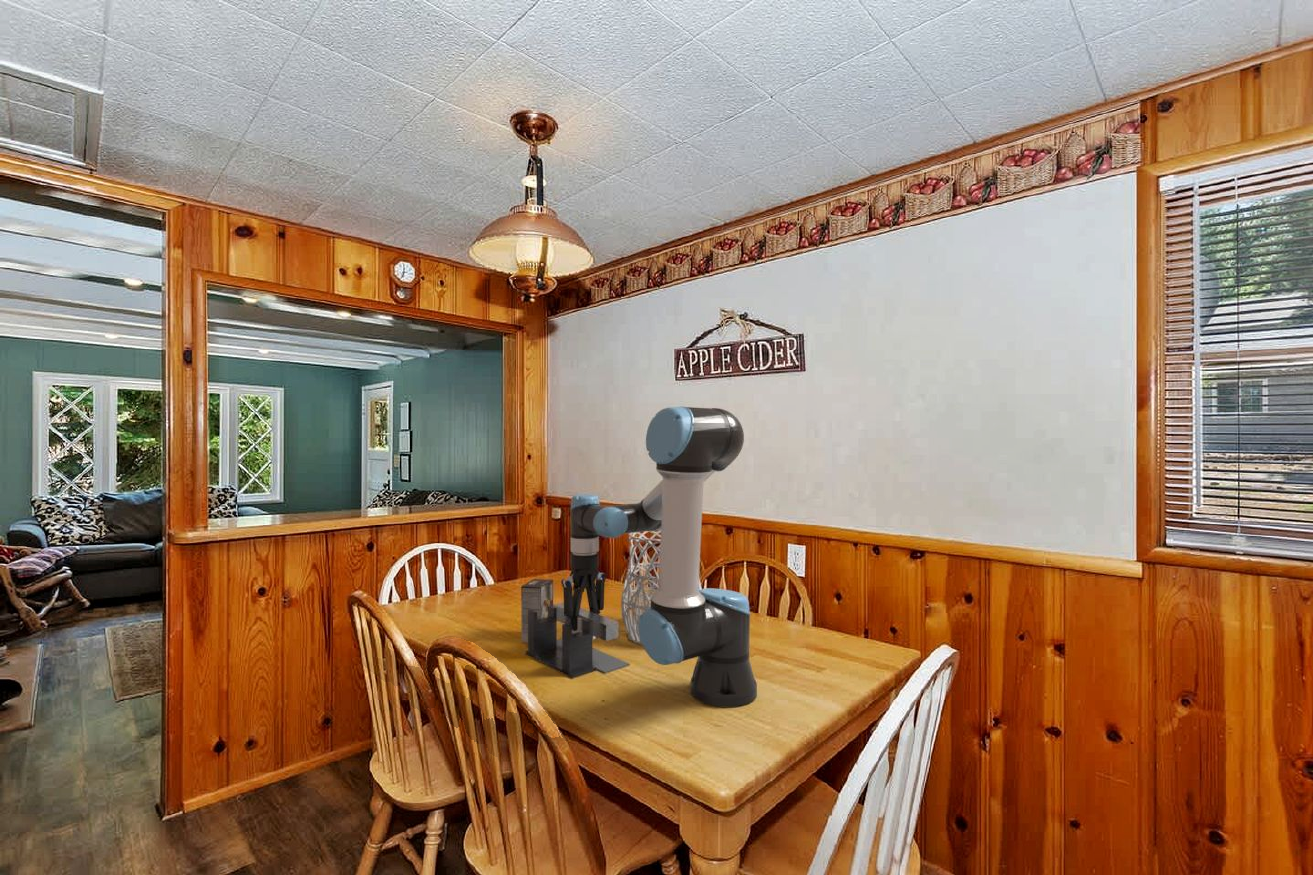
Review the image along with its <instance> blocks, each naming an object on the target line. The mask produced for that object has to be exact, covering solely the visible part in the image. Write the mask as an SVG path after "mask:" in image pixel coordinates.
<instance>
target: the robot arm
mask: <svg viewBox="0 0 1313 875" xmlns="http://www.w3.org/2000/svg"><path fill="white" fill-rule="evenodd" d="M645 434H646V436H645V447H646V448H645V449H646V451H647V452H648V456H649V458H650V459H651V460H652V461H653V462H655V463H656V472H657V473H658V474H659V475H660V477H662V479H661V481H660V482H659V483H658V484H657V485H655V487H654V488H653V489H652V490H650V492H648V494H647V495H646V496H645V497H644V498H643V499H642V500H640V502H637V503H627V504H616V505H615V504H614V505H601V504H600V499H599V498H600V497H598V495H597V494H587V493H586V494H575V495H573V496H572V497H571V499H570V508H569V511H570V513H569V514H570V515H569V516H570V552H571V554H570V557H569V558H570V560H569V561H570V569H571V572H570V574H569V577H567V578H566V579H561V580H560V583H561V586H562V589H563V602H564V615H565V616H567V617H570V618H571V626H572V634H574V633H577V632H581V618H579V612H580V608H581V604H582V601H583V600H582V599H583V593H584V592H585V591H586V596H587V602H588V609H589V611H590V612H593V613H596V614H598V615H601V611H603V610H604V609H605V607H604V606H605V587H606V586H605V584H606V579H607V576H608V575H607V574H606V573H605V572H601V571H599V569H598V567H599V557H600V555H599V553H598V552H599V551H600V539H599V538H600V537H599V536H601V537H604V538H606V539H609V538H610V539H616V538H619V537H622V535H625V534H627V535H628V534H630V533H633V534H634V533H635V532H639V533H644V532H645V531H654V532H656V531H659V530H658V529H661V533H660V536H661V538H660V542H659V543H660V544H659V545H660V548H659V549H660V559H659V562H660V563H659V566H658V567H659V569H658V570H659V571H658V576H659V583H658V584H659V587H658V589H657V590H656V591H655V592H652V595H651V597H650V598H651V608H650V609H648V610H646V611H644V612H643V613H642V612H641V614H642V615H641V616H640V618H639V621H638V629H639V636H640V639H641V642H642V645H641V646H642V647H643V648H644V650H645V653H646V654H647V656H648V657H649V658H651V660H652V661H654V662H655V663H656V664H658V665H661V666H666V665H667V666H669V665H673V664H680V663H682V662H685V661H687V660H692V659H694V658H697V660H696V663H695V666H694V669H693V673H692V677H691V678H690V683H689V686H690V687H689V688H690V690H689V692H690V695H691V696H692V697H693V699H695V700H697V701H698V702H700V703H703V704H706V705H709V706H713V707H720V708H721V707H722V708H730V707H731V708H733V707H740V706H745V705H747V704H751V702H754V701H755V700H756V698H757V697H758V685H757V684H758V683H757V681H756V678H755V676H754V672H753V668H752V665H751V662H750V628H751V627H750V624H751V623H750V622H751V617H750V616H751V612H750V602H749V599H748V597H747V596H746V595H744V594H743V593H741V592H738V591H734V590H730V589H729V590H728V589H723V588H714V587H713V588H712V587H711V588H709V587H708V588H702V589H701V590H700V591H699V579H700V568H701V566H700V563H701V543H702V520H703V500H704V499H703V497H704V483H705V482H706V481H707V480H708V479H709V478H710V477H711V476H712V475H713V474H714V473H716V472H722V471H724V470H726V468H727V467H729V466H730V465H731V464H732V463H733V462H734V461H735V460H736V459H737V458H738V456H739V455H740V453H741V451H742V449H743V446H744V443H745V433H744V428H743V425H742V424H741V422H740V421H739V419H738V418H737V417H736V416H735V415H734V414H733V413H732V412H730V411H728V410H726V409H723V408H717V407H711V408H710V407H692V406H683V405H682V406H670V407H665V408H663V409H661V410H658V411H657V413H655V416H653V417H652V418H651V420H650V422H649V425H648V427H647V430H646V433H645ZM595 639H596V637H595V636H593V635H592V640H595Z"/></svg>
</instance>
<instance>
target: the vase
mask: <svg viewBox="0 0 1313 875" xmlns="http://www.w3.org/2000/svg"><path fill="white" fill-rule="evenodd" d="M647 533H651V534H653V535H652V536H650V537H649V538H648V537H647V536H645V535H646V534H647ZM636 534H637V535H639V536H638V537H637V536H635V535H636ZM627 535H628V541H629V542H628V543H629V561H628V566H627V571H626V574H625V576H626V577H625V580H624V584H623V587H622V588H623V589H622V591H621V592H622V593H621V599H620V600H621V601H620V607H621V608H620V609H621V619H622V622H623V625H624V628H625V631H626V634H627V636H628V639H629V640H631V641H632V642H633V643H635V644H637V645H641V646H643V645H642V642H641V639H640V636H639V629H638V623H639V618H640V616H641V615H642V613H643V612H644V611H646V610H648V609H650V608H651V595H652V594H653V593H654V592H655V591H656V590H657V589H658V587H659V573H658V572H657V569H658V570H659V563H660V561H657V560H658V559H659V560H660V544H659V543H660V540H661V529H658V530H657V531H645V532H635V533H627ZM656 536H657V537H658V538H655V537H656ZM652 541H653V542H652ZM633 542H635V543H633ZM643 542H645V545H644V546H642V545H641V543H643ZM656 544H659V545H658V546H656ZM636 548H638V549H639V550H638V551H639V552H640V554H639V556H637V553H636ZM650 548H653V550H654V551H655V552H654V553H653V555H652V557H651V558H650V556H649V554H648V552H647V551H648V550H649V549H650ZM645 556H646V557H645ZM646 558H647V559H646ZM641 560H643V562H641V563H640V561H641ZM647 560H648V561H649V562H647ZM635 561H636V562H635ZM644 567H645V568H644ZM652 570H653V571H654V574H655V576H653V575H652V574H651V573H650V572H651V571H652ZM642 572H644V573H643V574H642ZM638 573H639V574H638ZM645 581H647V582H645ZM644 582H645V583H644ZM631 584H632V585H631ZM635 584H636V585H635ZM648 585H649V586H648ZM646 586H647V587H646ZM701 589H703V588H702V584H701V579H700V578H699V591H700V590H701ZM646 590H647V591H649V592H648V593H647V591H646ZM631 611H632V612H631ZM631 613H632V614H631Z"/></svg>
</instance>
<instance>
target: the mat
mask: <svg viewBox="0 0 1313 875" xmlns="http://www.w3.org/2000/svg"><path fill="white" fill-rule="evenodd" d="M557 650H559V651H561V652H562V637H561V638H557ZM630 665H631V663H629V662H628V661H627V662H626V661H625V660H622V659H619V658H618V657H615V656H612V655H611V654H608V653H606V652H603V651H600V650H599V649H596V648H594V647H592V666H594V667H596V671H598V672H601V673H603V674H608V673H612V672H614V671H617V670H620V669H623V668H626V667H629V666H630Z"/></svg>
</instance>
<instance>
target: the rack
mask: <svg viewBox="0 0 1313 875" xmlns="http://www.w3.org/2000/svg"><path fill="white" fill-rule="evenodd" d="M557 623H558V621H557V608H556V607H553V606H548V617H546V618H542V619H538V620H537V612H535V611H533V610H528V642H527V650H525V651H524V655H526V656H528V657H530V658H532V659H534V660H536V661H538V662H540V663H541V664H544V665H546V666H548V667H550V668H551V669H553V670H556V671H557V672H559V673H561V674H564V675H565V676H566V677H569V678H571V679H575V678H578V677H582V676H584V675H587V674H590V673H593V672H594V673H595V672H596V671H597V670H596V667H594V666H592V648H593V639H592V621H590V620H588V619H582V631H581V632H577V633H574V634H573V630H572V626H570V625H567V624H564V623H561V625H562V630H561V633H562V634H561V635H562V637H561V638H562V652H561V651H559V650H557V639H558V638H557V631H558V630H557V628H558V627H557Z"/></svg>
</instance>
